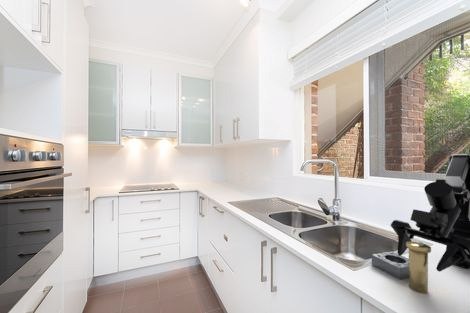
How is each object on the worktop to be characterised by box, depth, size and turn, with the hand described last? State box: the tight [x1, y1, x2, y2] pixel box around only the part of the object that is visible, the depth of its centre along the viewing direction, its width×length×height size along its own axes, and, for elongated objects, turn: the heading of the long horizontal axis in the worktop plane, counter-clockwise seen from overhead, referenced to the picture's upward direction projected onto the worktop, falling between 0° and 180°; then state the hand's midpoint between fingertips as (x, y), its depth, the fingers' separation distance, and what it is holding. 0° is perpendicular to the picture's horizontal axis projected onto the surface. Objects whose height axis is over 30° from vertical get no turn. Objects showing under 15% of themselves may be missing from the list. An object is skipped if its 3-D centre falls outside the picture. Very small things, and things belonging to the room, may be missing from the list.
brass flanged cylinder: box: [406, 240, 432, 294], centre depth 58 cm, size 5×5×12 cm
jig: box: [371, 250, 409, 281], centre depth 68 cm, size 9×9×4 cm
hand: (416, 261), depth 58 cm, fingers open, 9 cm apart
